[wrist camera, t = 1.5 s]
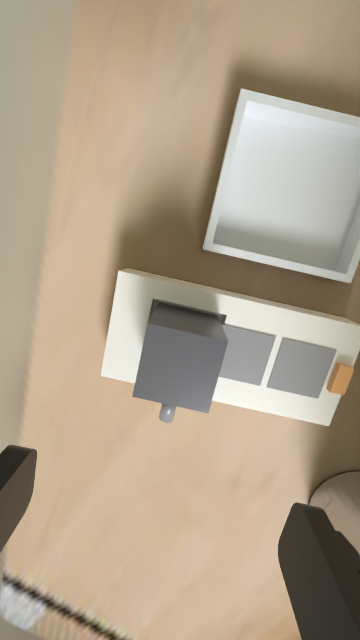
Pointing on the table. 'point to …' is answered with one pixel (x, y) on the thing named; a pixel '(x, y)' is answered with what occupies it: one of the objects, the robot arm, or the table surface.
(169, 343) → the block
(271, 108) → the tray
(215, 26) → the table surface
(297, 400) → the power strip
